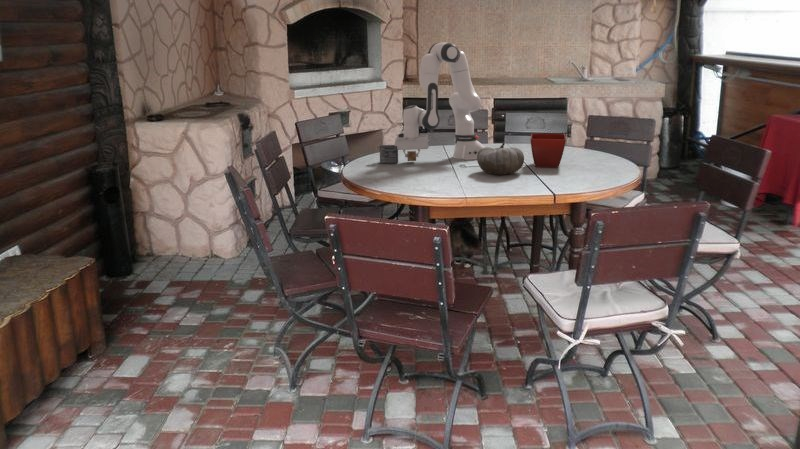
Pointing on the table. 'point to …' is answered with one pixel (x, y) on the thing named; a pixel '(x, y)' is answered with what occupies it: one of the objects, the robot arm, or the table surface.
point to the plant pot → (547, 149)
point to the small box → (388, 154)
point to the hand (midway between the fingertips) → (411, 156)
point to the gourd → (500, 160)
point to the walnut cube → (411, 155)
